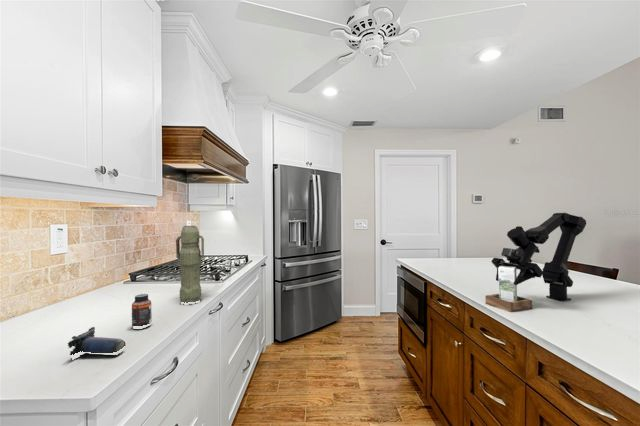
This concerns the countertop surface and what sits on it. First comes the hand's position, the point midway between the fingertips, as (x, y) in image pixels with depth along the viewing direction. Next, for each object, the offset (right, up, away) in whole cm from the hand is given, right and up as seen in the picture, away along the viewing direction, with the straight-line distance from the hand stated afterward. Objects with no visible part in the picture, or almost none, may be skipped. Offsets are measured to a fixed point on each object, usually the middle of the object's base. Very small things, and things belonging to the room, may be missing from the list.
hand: (505, 282), depth 116 cm
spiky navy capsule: (-139, -12, -36) cm, 144 cm away
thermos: (-136, -13, +13) cm, 137 cm away
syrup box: (+2, -8, 0) cm, 9 cm away
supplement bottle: (-139, -12, -16) cm, 141 cm away
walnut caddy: (+1, -10, 0) cm, 10 cm away
